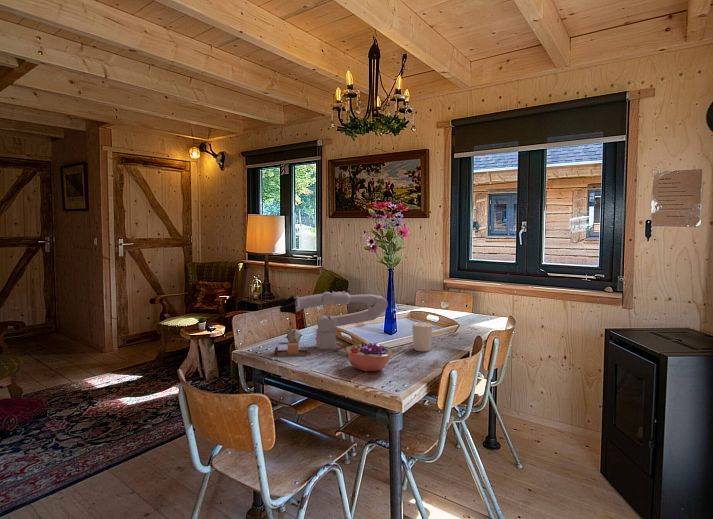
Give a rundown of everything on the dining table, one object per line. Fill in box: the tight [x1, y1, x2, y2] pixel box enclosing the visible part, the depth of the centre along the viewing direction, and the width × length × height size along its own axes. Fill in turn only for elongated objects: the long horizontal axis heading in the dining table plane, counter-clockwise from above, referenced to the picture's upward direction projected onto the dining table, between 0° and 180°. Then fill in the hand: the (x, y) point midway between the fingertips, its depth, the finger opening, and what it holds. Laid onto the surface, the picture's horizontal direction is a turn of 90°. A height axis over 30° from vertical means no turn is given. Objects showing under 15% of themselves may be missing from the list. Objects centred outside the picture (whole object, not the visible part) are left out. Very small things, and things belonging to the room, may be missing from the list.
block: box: [287, 342, 299, 355], centre depth 195 cm, size 4×4×4 cm
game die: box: [284, 327, 302, 343], centre depth 216 cm, size 9×8×10 cm
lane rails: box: [273, 349, 308, 358], centre depth 195 cm, size 14×8×2 cm, turn 95°
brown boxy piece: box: [273, 346, 312, 357], centre depth 195 cm, size 16×6×4 cm, turn 95°
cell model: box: [345, 342, 393, 372], centre depth 177 cm, size 17×20×11 cm
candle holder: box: [411, 321, 434, 352], centre depth 207 cm, size 10×10×12 cm
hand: (280, 306), depth 202 cm, fingers open, 7 cm apart
